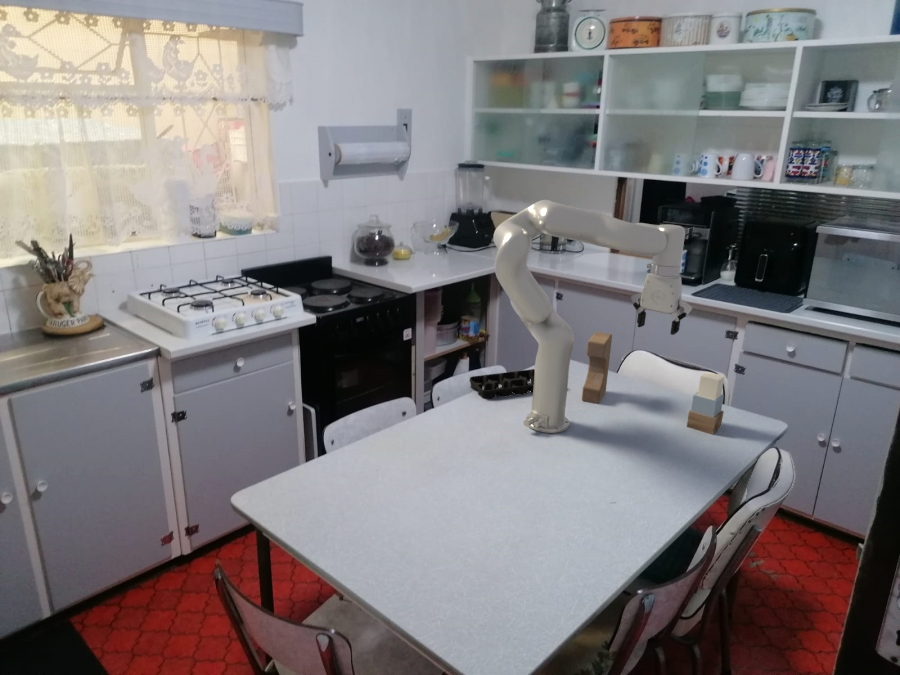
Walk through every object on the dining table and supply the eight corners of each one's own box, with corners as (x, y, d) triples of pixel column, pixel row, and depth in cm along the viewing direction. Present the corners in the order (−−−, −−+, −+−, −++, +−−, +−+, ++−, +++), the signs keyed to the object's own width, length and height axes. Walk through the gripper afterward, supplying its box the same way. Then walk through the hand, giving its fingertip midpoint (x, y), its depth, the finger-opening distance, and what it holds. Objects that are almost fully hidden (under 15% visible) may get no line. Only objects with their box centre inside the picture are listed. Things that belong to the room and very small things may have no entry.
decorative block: (598, 404, 203) (605, 343, 197) (580, 400, 205) (586, 340, 199) (606, 392, 213) (613, 334, 207) (589, 389, 215) (595, 331, 209)
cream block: (715, 400, 184) (718, 380, 182) (697, 395, 187) (700, 376, 185) (721, 395, 188) (724, 376, 186) (703, 390, 191) (706, 371, 189)
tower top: (713, 417, 185) (716, 401, 183) (690, 411, 189) (693, 395, 187) (721, 410, 190) (723, 394, 188) (698, 404, 193) (701, 388, 192)
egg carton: (566, 389, 215) (567, 379, 214) (494, 408, 199) (495, 396, 198) (532, 372, 229) (533, 362, 228) (462, 388, 213) (462, 378, 212)
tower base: (712, 435, 185) (715, 419, 184) (686, 427, 190) (689, 411, 188) (720, 426, 191) (723, 411, 189) (695, 419, 195) (697, 403, 194)
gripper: (629, 267, 181) (622, 326, 186) (691, 277, 170) (681, 339, 176) (641, 263, 186) (634, 321, 192) (701, 273, 176) (692, 333, 181)
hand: (657, 329), depth 184 cm, fingers open, 9 cm apart
